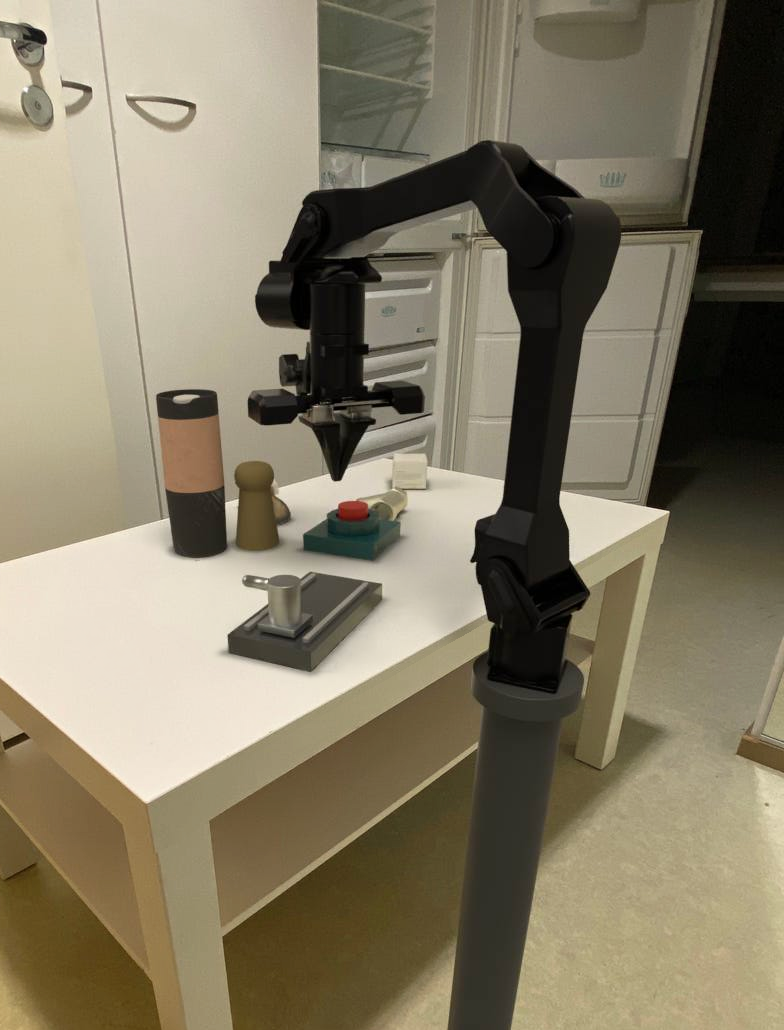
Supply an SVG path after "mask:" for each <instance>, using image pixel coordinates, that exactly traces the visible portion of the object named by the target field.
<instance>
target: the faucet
mask: <svg viewBox="0 0 784 1030" xmlns="http://www.w3.org/2000/svg"><path fill="white" fill-rule="evenodd" d="M241 583H242V585H243V587H246V588H250V589H255V590H260V591H266V592H267V604H268V609H269V615H268V616H266V617H265V618H264V619H263V620H261V621H260V622H259V623H258V631H263V632H267V633H272V634H277V635H281V636H286V637H291V638H295V637H296V636H297V635H298V634H300V633H301V632H302V631H303V630H304V629H305V628H306V627H307V626H309V625H310V624H311V623H312V622H313V615H311V614H306V613H302V604H301V578H300V577H299V576H296V575H293V574H277V575H273V576H271V577H269V578H268V577H263V576H259V575H258V576H257V575H251V574H245V575H244V576H243V577H242V579H241Z"/></svg>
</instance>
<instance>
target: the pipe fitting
mask: <svg viewBox="0 0 784 1030" xmlns="http://www.w3.org/2000/svg"><path fill="white" fill-rule="evenodd" d="M408 497H409V495H408V492H407V491H405V490H404V489H403V488H399V487H397V486H395V487H394V488H390V489H389V490H387V491H385V492H383V493H380V494H374V495H369V496H364V497H359V498H356V499H355V501H361V502H365V503H367V504H368V509H371V510H374V511H376V512H378V514H379V516H380V519H382V520H390V521H395V519H397V515H398V514H399V513H400V512H401V511H402V510H404V509H406V508H407V507H408V506H409V505H408V504H409V500H408V499H409V498H408Z"/></svg>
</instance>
